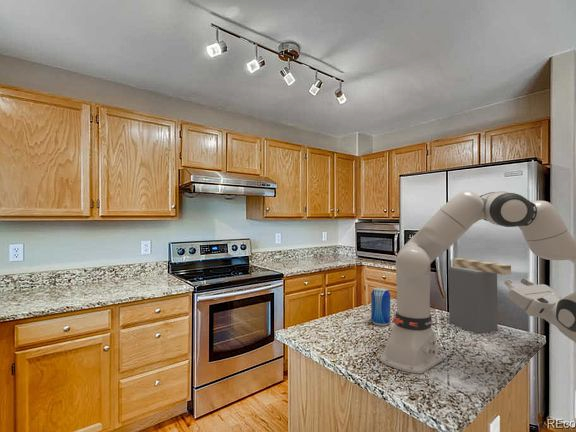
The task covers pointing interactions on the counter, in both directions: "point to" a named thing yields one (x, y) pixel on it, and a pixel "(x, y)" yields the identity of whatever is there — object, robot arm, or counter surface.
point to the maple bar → (482, 266)
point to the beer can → (380, 306)
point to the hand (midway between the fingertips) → (514, 280)
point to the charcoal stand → (473, 299)
